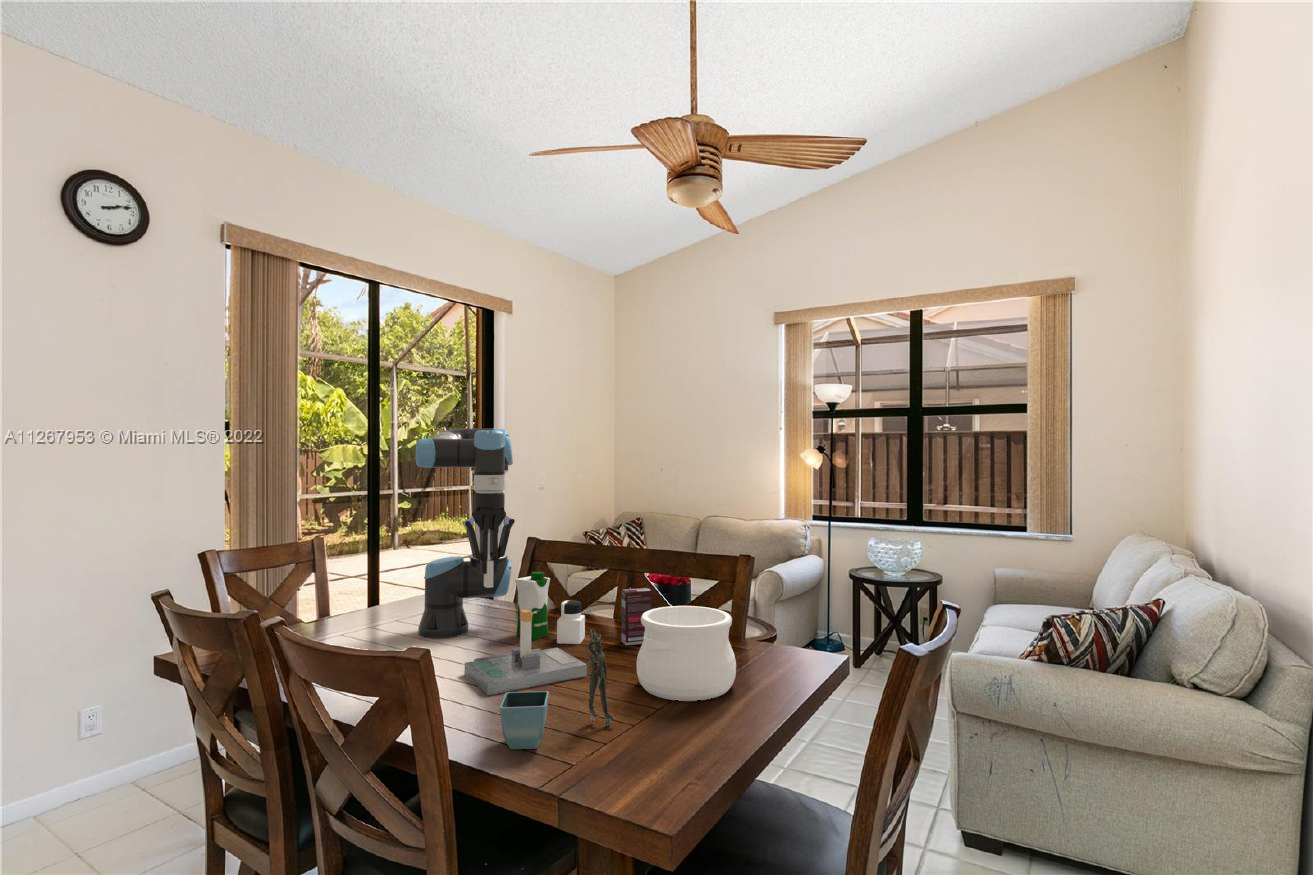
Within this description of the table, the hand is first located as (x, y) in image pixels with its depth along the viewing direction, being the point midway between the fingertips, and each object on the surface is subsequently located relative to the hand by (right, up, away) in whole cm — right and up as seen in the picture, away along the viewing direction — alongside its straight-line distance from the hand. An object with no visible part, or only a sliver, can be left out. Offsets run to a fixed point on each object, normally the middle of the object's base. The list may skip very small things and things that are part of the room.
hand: (488, 586), depth 172 cm
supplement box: (+36, -25, +36) cm, 57 cm away
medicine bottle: (+16, -25, +37) cm, 48 cm away
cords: (+2, -24, +14) cm, 28 cm away
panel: (+8, -24, +5) cm, 26 cm away
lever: (+8, -20, +5) cm, 22 cm away
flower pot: (+16, -24, -36) cm, 46 cm away
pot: (+49, -24, -3) cm, 55 cm away
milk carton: (+3, -25, +42) cm, 49 cm away
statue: (+30, -24, -27) cm, 47 cm away
